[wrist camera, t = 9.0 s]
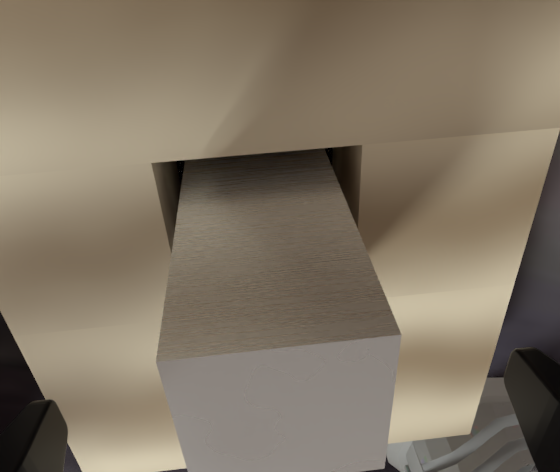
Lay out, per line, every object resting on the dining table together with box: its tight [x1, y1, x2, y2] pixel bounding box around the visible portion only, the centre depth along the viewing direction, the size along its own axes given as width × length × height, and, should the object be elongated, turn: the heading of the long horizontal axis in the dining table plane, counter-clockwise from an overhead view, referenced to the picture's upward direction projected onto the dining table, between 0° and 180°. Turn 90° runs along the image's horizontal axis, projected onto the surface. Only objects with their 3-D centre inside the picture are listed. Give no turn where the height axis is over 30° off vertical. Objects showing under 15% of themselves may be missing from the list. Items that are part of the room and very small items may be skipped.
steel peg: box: [156, 148, 402, 472], centre depth 13 cm, size 4×4×10 cm
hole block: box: [0, 0, 560, 472], centre depth 16 cm, size 22×16×4 cm
